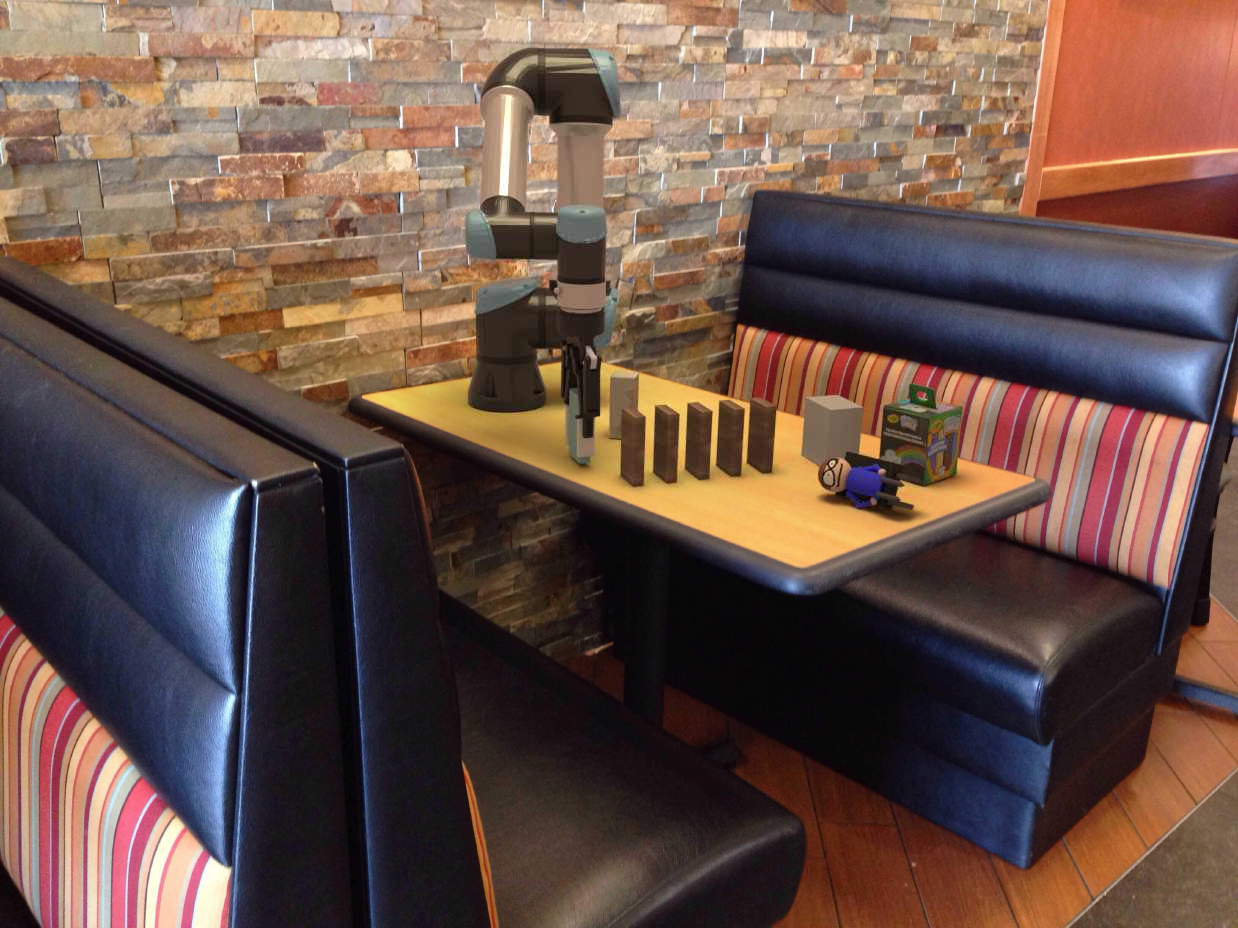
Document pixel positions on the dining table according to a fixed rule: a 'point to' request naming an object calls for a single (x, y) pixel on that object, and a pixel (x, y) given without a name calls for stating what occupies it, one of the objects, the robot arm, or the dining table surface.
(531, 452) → the dining table surface
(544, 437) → the dining table surface
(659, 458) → the tile
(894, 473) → the character figurine
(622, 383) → the box
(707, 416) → the tile
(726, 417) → the tile
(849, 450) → the end block
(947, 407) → the chalk box
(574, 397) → the tile
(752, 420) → the tile
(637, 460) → the tile
